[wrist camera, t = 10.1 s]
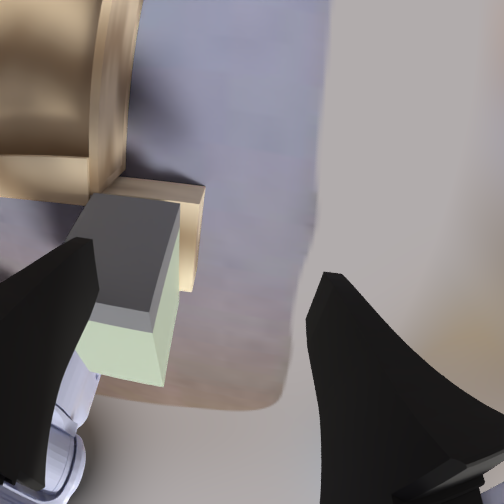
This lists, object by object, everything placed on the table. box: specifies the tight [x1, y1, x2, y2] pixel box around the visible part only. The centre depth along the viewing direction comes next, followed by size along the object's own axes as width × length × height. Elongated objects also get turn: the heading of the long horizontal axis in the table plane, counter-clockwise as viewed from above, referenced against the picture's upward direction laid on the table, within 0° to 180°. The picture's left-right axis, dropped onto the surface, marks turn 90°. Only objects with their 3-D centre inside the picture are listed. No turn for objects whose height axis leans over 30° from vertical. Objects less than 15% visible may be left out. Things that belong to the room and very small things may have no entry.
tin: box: [64, 193, 181, 387], centre depth 15 cm, size 8×4×6 cm, turn 170°
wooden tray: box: [0, 0, 143, 206], centre depth 11 cm, size 15×14×4 cm
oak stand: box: [101, 177, 205, 292], centre depth 19 cm, size 6×6×2 cm
